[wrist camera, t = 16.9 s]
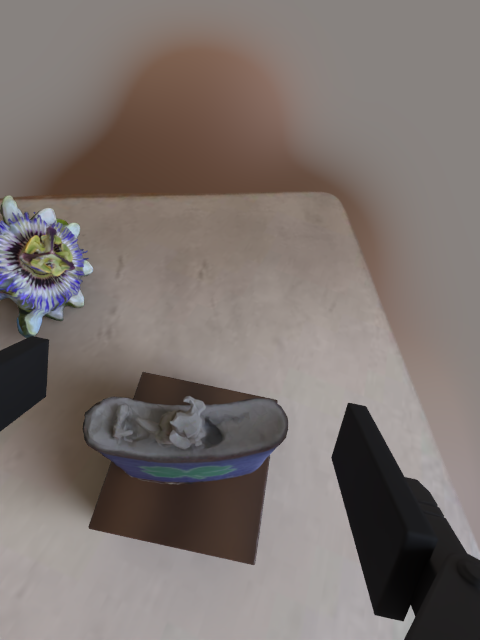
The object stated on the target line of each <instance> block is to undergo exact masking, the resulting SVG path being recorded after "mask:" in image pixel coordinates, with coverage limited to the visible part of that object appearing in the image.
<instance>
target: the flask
mask: <svg viewBox="0 0 480 640" xmlns="http://www.w3.org/2000/svg"><path fill="white" fill-rule="evenodd" d="M183 402H187V403H190V405H165V404H153V403H147V402H142V401H138V400H134V399H131V398H122V397H110V398H107V399H103V400H102V401H101V402H98V403H96V404H95V405H94V406H93V407H91V408H90V409H89V410H88V411H87V412H85V419H84V423H83V432H84V439H85V441H86V443H87V445H88V446H90V447H91V448H93V449H94V450H96V451H98V452H100V453H101V454H102V455H103V456H105V457H106V458H108V459H110V460H111V461H112V462H114V463H115V465H116V466H118V467H120V468H121V469H123V470H124V471H125V473H126V474H128V475H129V476H131V477H135V478H137V479H139V480H142V481H148V482H149V481H150V482H157V483H160V484H164V483H168V484H177V485H178V484H193V483H198V482H208V481H214V480H215V481H217V480H221V479H225V480H226V479H231V478H233V477H239V476H241V477H242V475H246V474H250V473H252V472H254V471H255V470H257V469H258V468H259V467H260V466H261V465H262V464H263V462H264V460H265V459H266V458H267V457H268V456H269V455H270V454H271V453H272V452H273V451H274V450H275V448H276V447H277V446H279V445H280V444H281V443H282V442H283V440H284V439H285V438H286V435H287V431H288V418H287V416H286V414H285V412H284V410H283V409H282V407H281V406H280V405H278V404H277V402H276V401H274V400H270V399H265V398H257V397H256V398H250V399H245V400H242V401H237V402H231V403H225V404H213V405H209V404H204V402H203V401H200V400H196V399H194V398H192V397H191V396H186V397H185V398H184V400H183Z"/></svg>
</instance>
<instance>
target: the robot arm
mask: <svg viewBox="0 0 480 640" xmlns="http://www.w3.org/2000/svg"><path fill="white" fill-rule="evenodd" d="M48 348H49V340H48V339H43V338H38V337H34V336H31V337H29V338H27V339H25V340H22V341H20V342H18V343H16V344H14V345H12V346H9V347H7V348H5V349H3V350H1V351H0V431H2V430H3V429H4V428H5V427H7V426H8V425H9V424H11V423H12V422H13V421H15V420H16V419H17V418H18V417H20V416H21V415H22V414H24V413H25V412H26V411H28V410H29V409H30V408H32V407H33V406H34V405H35V404H37V403H38V402H39V401H41V400H42V399H43V398H45V397H46V387H47V368H48ZM331 458H332V461H333V465H334V469H335V472H336V476H337V479H338V483H339V487H340V490H341V494H342V498H343V501H344V505H345V509H346V512H347V516H348V520H349V523H350V527H351V530H352V534H353V538H354V541H355V545H356V549H357V552H358V556H359V560H360V563H361V567H362V570H363V574H364V578H365V581H366V585H367V589H368V592H369V596H370V600H371V603H372V607H373V610H374V614H375V615H377V616H382V617H386V618H391V619H395V620H400V621H404V619H405V616H406V614H407V612H408V609H409V607H410V605H411V606H412V609H413V611H414V614H415V619H414V621H413V623H412V625H411V627H410V629H409V631H408V633H407V635H406V637H405V639H404V640H480V560H478V559H476V558H475V557H473V556H471V555H469V554H467V553H466V551H465V549H464V548H463V546H462V544H461V543H460V541H459V540H458V538H457V536H456V535H455V533H454V531H453V530H452V528H451V526H450V525H449V523H448V521H447V520H446V518H444V515H443V513H442V512H441V510H440V508H439V507H437V503H436V502H435V500H434V498H433V497H432V495H431V494H430V492H429V491H428V490H427V489H426V488H425V487H424V486H423V485H422V484H421V483H420V482H419V481H418V480H415V479H411V478H406V477H404V475H403V473H402V472H401V470H400V468H399V466H398V464H397V462H396V461H395V459H394V457H393V455H392V453H391V451H390V450H389V448H388V446H387V444H386V442H385V440H384V439H383V437H382V435H381V433H380V431H379V429H378V428H377V426H376V424H375V422H374V420H373V418H372V417H371V415H370V413H369V411H368V409H367V407H366V406H362V405H357V404H352V403H348V405H347V408H346V411H345V415H344V418H343V421H342V425H341V428H340V431H339V434H338V438H337V441H336V444H335V448H334V451H333V454H332V457H331Z"/></svg>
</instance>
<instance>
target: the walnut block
mask: <svg viewBox="0 0 480 640" xmlns="http://www.w3.org/2000/svg"><path fill="white" fill-rule="evenodd" d="M186 396H191V397H192V398H194V399H196V400H200V401H203V402H204V404H209V405H213V404H225V403H231V402H237V401H242V400H245V399H250V398H256V397H257V398H265V397H260V396H255V395H251V394H246V393H241V392H236V391H232V390H227V389H222V388H217V387H213V386H208V385H203V384H198V383H193V382H189V381H184V380H179V379H174V378H170V377H165V376H160V375H155V374H151V373H146V372H143V373H142V375H141V378H140V381H139V384H138V387H137V389H136V392H135V395H134V398H133V399H134V400H138V401H142V402H147V403H153V404H165V405H190V403H187V402H183V400H184V398H185V397H186ZM265 399H270V398H265ZM270 400H274V399H270ZM274 401H276V402H277V400H274ZM269 459H270V455H269V456H268V457H267V458H266V459H265V460H264V462H263V464H262V465H261V466H260V467H259V468H258V469H257V470H255V471H254V472H252V473H250V474H246V475H242V477H241V476H239V477H233V478H231V479H226V480H225V479H221V480H217V481H215V480H214V481H208V482H198V483H193V484H178V485H177V484H168V483H164V484H160V483H157V482H150V481H149V482H148V481H142V480H139V479H137V478H135V477H131V476H129V475H128V474H126V473H125V471H124V470H123V469H121V468H120V467H118V466H116V465H115V463H114V462H112V461H111V464H110V467H109V470H108V473H107V475H106V478H105V481H104V484H103V487H102V490H101V493H100V495H99V498H98V501H97V504H96V507H95V510H94V513H93V516H92V518H91V521H90V524H89V529H93V530H97V531H102V532H106V533H111V534H115V535H120V536H124V537H129V538H133V539H138V540H142V541H147V542H152V543H156V544H161V545H165V546H170V547H174V548H179V549H183V550H188V551H192V552H197V553H201V554H206V555H210V556H215V557H219V558H224V559H229V560H233V561H238V562H242V563H247V564H251V565H255V561H256V553H257V546H258V539H259V532H260V524H261V517H262V510H263V503H264V495H265V488H266V481H267V474H268V466H269Z"/></svg>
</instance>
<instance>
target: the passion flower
mask: <svg viewBox="0 0 480 640" xmlns="http://www.w3.org/2000/svg"><path fill="white" fill-rule="evenodd" d="M0 212H1V214H2V216H3V221H4V222H3V221H1V222H0V300H2V299H5V298H10V299H12V300H13V301H14V302H15V303H16V304H17V305H18V308H19V316H18V318H17V327H18V330H19V333H20V334H21V335H22V336H24V337H25V338H29V337H31V336H35V335H37V333H38V331H39V329H40V326H41V323H42V317H43V316H44V315H45V316H47V317H50V318H51V319H54V320H58V321H63V315H64V314H63V309H64V306H72V307H75V308H81V307H83V305H84V297H83V295H82V293H81V291H80V284H81V283H82V282H83V281H82V280H81V279H80V278H81V276H88V275H89V274H91V273H92V272H93V267H92V266H91V265H90V263H89V262H88V261H86V260H87V259H89V258H83V256H82V253H86V252H88V250H87V251H85V252H83V250H84V249H82V250H81V249H80V248H79V247H78V244H77V240H78V239H77V238H78V236H79V234H80V227H79V224H77V223H71V224H69V225H68V223H67V222H66V221H64V220H62V219H58V218H56V215H55V213H54V210H53V209H52V208H46V209H43V210H40V211H39V212H38V213H37V214H35V212H34V214H35V215H34V216H33V217H32V218H31V219H29V214H28V213H27V212H25V213H24V215H25V216H24V215H23V214H22V212H21V210H20V209H18V208H17V204H16V202H15V200H13V198H12V197H11V196H6V197H5V198H4V200H3V202H2V205H1V209H0Z"/></svg>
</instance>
